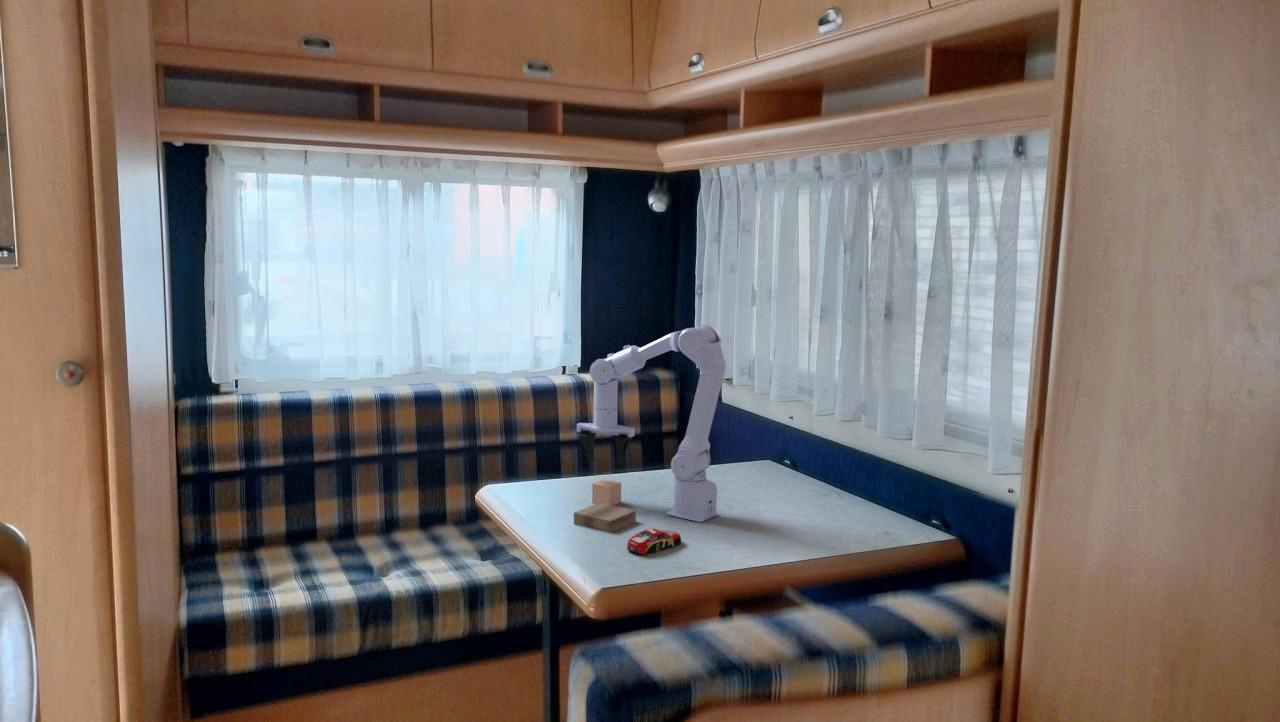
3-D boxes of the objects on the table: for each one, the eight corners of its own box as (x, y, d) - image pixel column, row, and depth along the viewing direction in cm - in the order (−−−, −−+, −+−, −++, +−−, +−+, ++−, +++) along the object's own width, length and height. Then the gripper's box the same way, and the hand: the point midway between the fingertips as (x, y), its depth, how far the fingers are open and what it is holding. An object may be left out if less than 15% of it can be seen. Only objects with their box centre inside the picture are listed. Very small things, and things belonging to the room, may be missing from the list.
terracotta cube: (620, 502, 225) (621, 482, 224) (608, 507, 221) (609, 486, 220) (604, 498, 228) (604, 479, 227) (592, 503, 223) (592, 483, 223)
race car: (668, 538, 199) (668, 520, 199) (686, 545, 195) (686, 527, 195) (622, 551, 190) (623, 532, 190) (640, 558, 186) (640, 539, 186)
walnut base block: (635, 523, 210) (636, 510, 209) (609, 534, 202) (610, 521, 201) (600, 515, 215) (600, 502, 215) (573, 525, 207) (573, 512, 207)
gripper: (639, 407, 224) (638, 462, 225) (585, 403, 229) (585, 456, 231) (628, 412, 217) (627, 469, 219) (572, 407, 222) (572, 462, 224)
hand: (604, 463), depth 224 cm, fingers open, 7 cm apart
